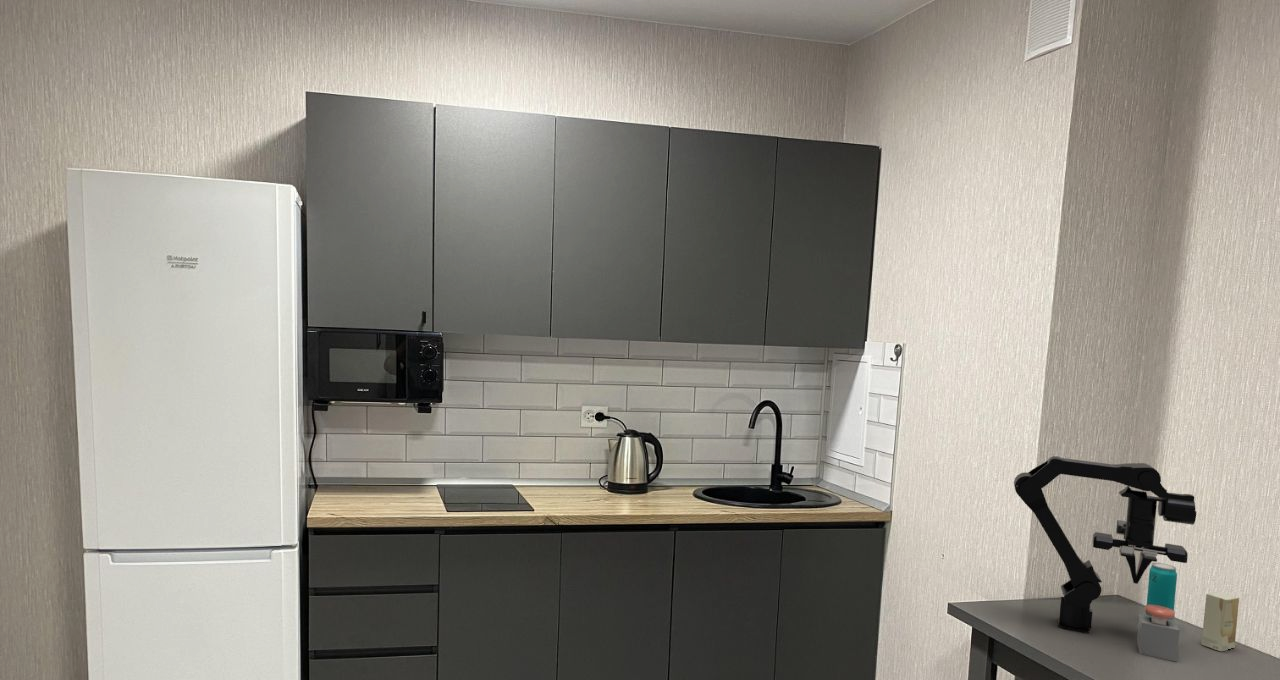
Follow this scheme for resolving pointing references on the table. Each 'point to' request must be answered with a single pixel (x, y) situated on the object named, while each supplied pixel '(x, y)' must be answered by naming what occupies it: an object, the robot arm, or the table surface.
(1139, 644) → the button housing
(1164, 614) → the red plunger
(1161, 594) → the beverage can
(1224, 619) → the skincare box
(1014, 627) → the table surface
